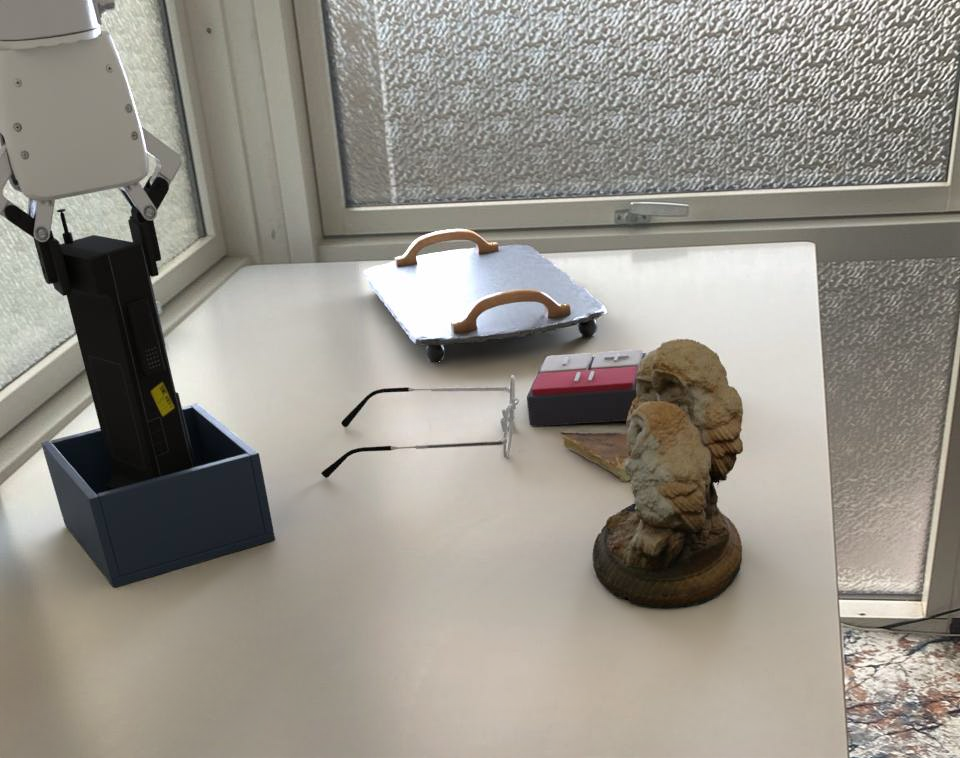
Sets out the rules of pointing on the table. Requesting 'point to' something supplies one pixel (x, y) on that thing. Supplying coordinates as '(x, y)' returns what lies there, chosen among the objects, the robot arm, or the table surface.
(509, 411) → the eyeglasses
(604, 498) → the table surface
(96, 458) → the bin
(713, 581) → the owl figurine
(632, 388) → the red gray box
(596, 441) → the shard
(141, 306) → the portable radio
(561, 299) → the serving tray
